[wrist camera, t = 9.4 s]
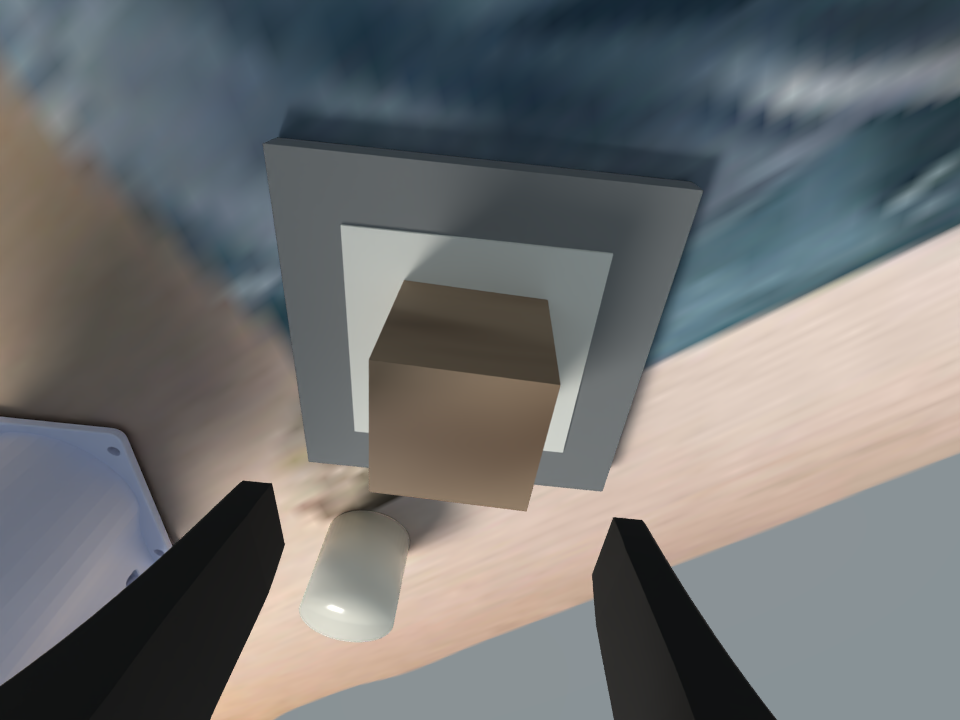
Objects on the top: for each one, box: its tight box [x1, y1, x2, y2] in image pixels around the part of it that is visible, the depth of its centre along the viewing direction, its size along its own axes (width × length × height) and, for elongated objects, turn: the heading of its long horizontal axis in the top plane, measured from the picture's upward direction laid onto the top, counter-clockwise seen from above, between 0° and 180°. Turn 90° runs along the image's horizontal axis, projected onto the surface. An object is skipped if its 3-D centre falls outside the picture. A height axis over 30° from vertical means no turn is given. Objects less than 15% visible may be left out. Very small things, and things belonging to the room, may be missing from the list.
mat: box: [263, 137, 703, 491], centre depth 17 cm, size 12×12×1 cm
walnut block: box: [369, 280, 561, 511], centre depth 14 cm, size 4×4×4 cm
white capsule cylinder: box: [299, 510, 410, 642], centre depth 22 cm, size 4×4×4 cm
